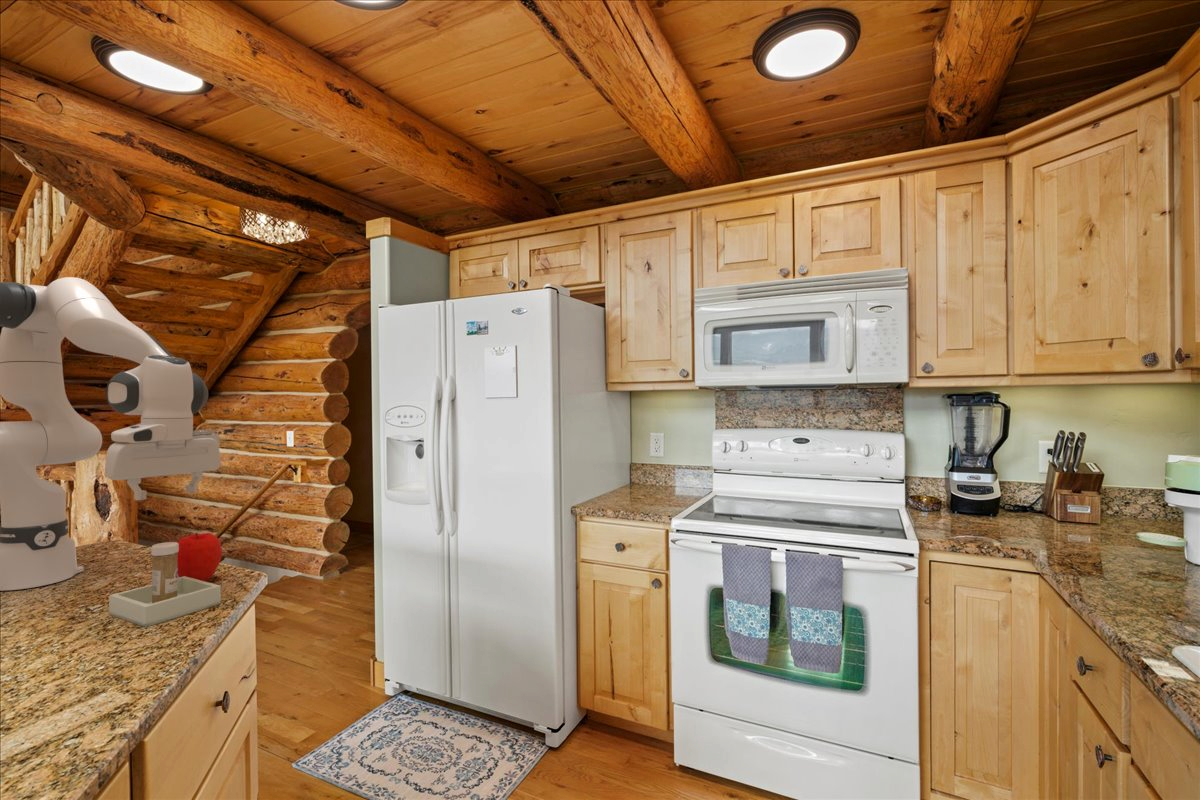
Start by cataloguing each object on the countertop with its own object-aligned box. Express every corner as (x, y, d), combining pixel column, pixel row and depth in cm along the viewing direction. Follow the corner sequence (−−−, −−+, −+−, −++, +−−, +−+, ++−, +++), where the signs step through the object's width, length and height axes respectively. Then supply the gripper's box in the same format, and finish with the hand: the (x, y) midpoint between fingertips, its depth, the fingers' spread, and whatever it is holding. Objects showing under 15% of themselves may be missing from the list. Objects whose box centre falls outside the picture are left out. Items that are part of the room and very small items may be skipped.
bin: (109, 614, 115) (109, 595, 115) (184, 593, 128) (184, 576, 128) (145, 627, 109) (145, 607, 109) (220, 604, 121) (220, 585, 121)
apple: (204, 573, 142) (204, 526, 142) (231, 578, 139) (232, 529, 139) (162, 585, 133) (162, 534, 133) (190, 591, 129) (190, 538, 129)
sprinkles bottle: (178, 608, 117) (179, 544, 117) (150, 613, 114) (151, 548, 114) (177, 601, 121) (178, 540, 121) (150, 606, 118) (151, 543, 118)
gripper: (210, 428, 129) (210, 488, 129) (101, 433, 111) (100, 502, 111) (227, 429, 126) (226, 490, 127) (117, 434, 108) (116, 505, 108)
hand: (166, 496), depth 119 cm, fingers open, 8 cm apart
